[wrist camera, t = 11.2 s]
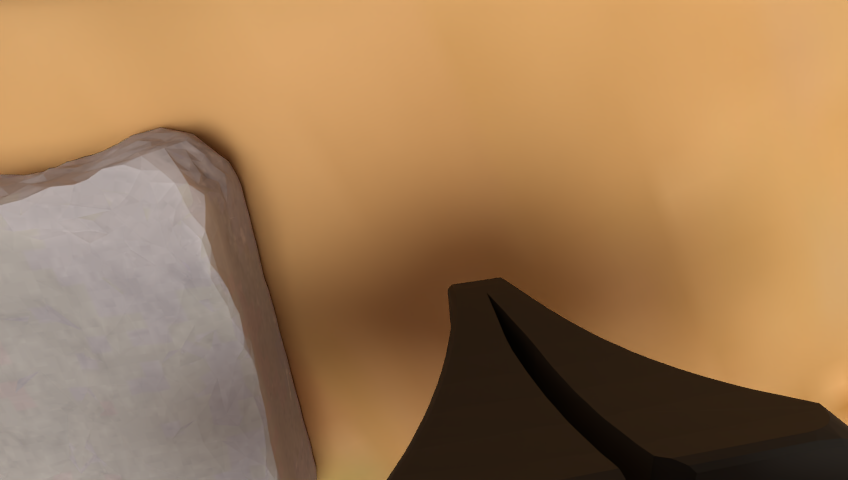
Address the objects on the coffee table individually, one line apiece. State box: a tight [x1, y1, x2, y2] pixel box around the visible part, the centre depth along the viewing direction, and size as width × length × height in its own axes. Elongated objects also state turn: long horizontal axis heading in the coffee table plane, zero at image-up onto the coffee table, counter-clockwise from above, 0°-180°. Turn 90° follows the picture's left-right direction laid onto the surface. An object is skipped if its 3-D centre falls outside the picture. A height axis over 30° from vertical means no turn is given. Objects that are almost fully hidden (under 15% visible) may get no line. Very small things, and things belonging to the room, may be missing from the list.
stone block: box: [0, 128, 317, 480], centre depth 11 cm, size 12×5×10 cm
